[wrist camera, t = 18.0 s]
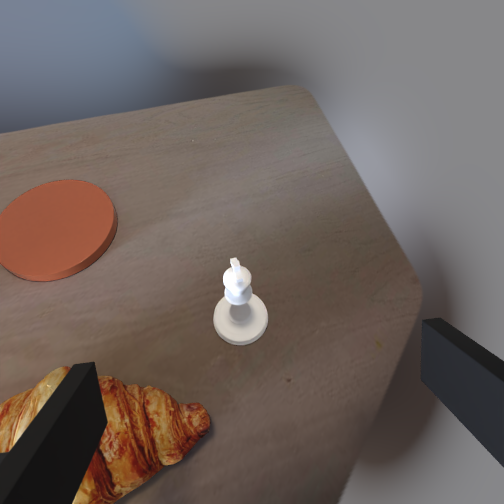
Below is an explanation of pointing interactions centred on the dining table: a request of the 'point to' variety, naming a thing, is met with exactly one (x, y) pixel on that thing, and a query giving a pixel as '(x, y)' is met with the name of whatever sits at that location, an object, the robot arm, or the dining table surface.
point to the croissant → (117, 433)
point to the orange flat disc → (56, 230)
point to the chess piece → (239, 308)
